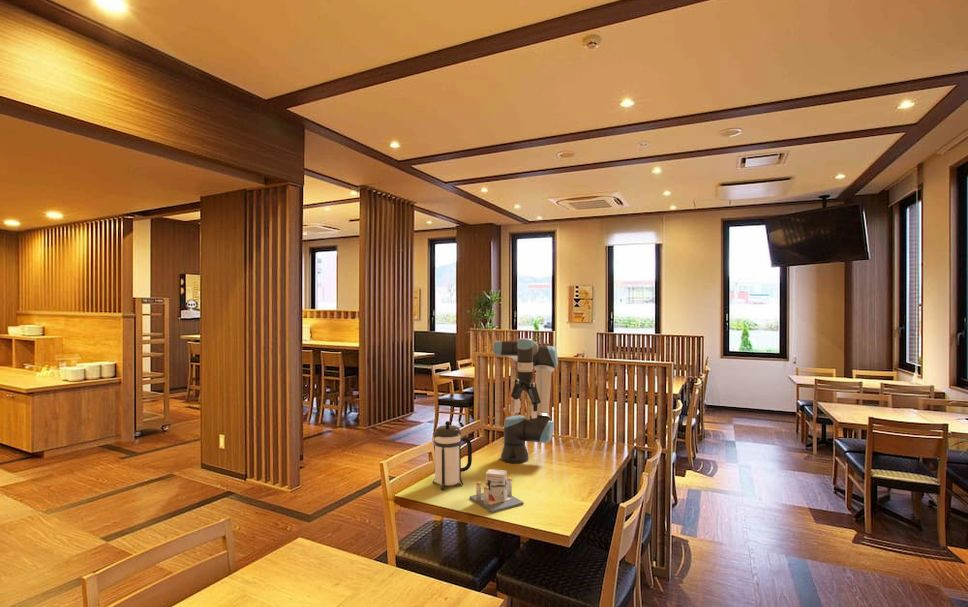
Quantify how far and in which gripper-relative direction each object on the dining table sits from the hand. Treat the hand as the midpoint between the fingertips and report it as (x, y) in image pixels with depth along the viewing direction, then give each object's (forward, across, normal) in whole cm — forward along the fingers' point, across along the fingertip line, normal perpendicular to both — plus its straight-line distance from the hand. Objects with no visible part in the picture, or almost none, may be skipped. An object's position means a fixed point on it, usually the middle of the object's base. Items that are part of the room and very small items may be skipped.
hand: (525, 415), depth 234 cm
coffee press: (+32, -17, -32) cm, 48 cm away
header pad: (+32, +12, -25) cm, 42 cm away
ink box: (+31, +12, -25) cm, 41 cm away
